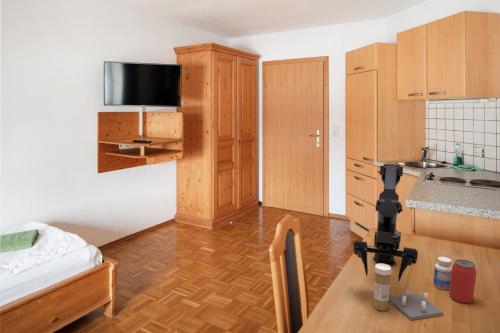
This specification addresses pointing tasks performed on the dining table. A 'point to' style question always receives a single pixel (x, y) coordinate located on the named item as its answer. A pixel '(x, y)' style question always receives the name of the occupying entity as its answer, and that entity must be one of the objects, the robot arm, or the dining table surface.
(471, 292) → the beer can
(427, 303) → the pin tray
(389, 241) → the robot arm
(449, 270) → the pill bottle
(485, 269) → the dining table surface
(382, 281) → the sprinkles bottle
